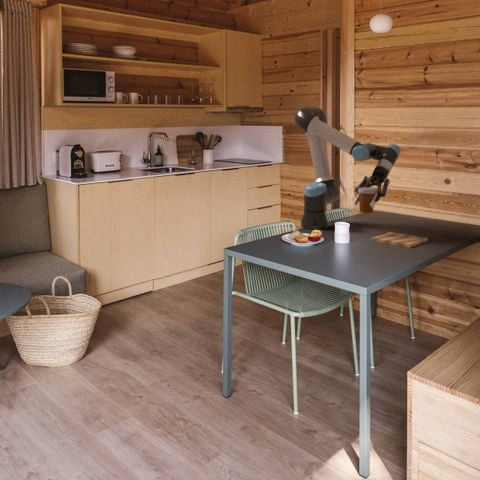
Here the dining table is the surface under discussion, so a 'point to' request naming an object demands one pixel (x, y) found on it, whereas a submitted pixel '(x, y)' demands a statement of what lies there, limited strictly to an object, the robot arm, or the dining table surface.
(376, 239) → the oak board
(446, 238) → the dining table surface
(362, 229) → the dining table surface
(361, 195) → the disposable coffee cup
